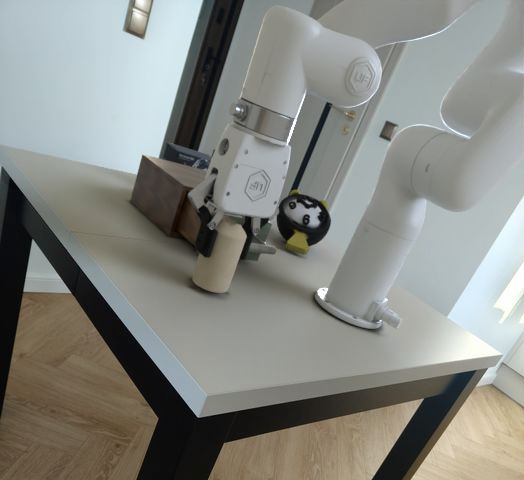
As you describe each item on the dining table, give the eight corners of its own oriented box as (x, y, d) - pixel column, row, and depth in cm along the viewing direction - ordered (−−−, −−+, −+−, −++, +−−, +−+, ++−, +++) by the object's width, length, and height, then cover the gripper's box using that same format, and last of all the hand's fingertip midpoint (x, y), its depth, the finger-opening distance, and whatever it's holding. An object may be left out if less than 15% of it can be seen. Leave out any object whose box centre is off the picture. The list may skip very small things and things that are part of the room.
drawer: (278, 277, 88) (294, 238, 85) (220, 272, 79) (235, 229, 76) (215, 227, 100) (227, 192, 97) (158, 218, 91) (169, 179, 88)
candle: (235, 292, 75) (258, 229, 70) (208, 294, 71) (230, 227, 66) (211, 275, 77) (232, 212, 73) (184, 276, 73) (204, 210, 69)
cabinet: (231, 244, 98) (247, 199, 94) (168, 236, 88) (184, 185, 84) (190, 212, 107) (204, 169, 103) (130, 201, 97) (142, 154, 93)
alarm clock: (257, 252, 114) (262, 183, 112) (299, 258, 124) (304, 195, 122) (297, 253, 105) (303, 178, 104) (338, 259, 116) (345, 192, 114)
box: (163, 199, 108) (177, 150, 103) (152, 188, 112) (165, 140, 108) (206, 208, 114) (221, 163, 110) (193, 198, 119) (207, 153, 114)
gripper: (225, 115, 56) (181, 263, 64) (327, 147, 68) (279, 269, 76) (191, 97, 60) (154, 238, 68) (292, 130, 72) (250, 247, 80)
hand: (220, 253), depth 72 cm, fingers closed on candle, 5 cm apart
